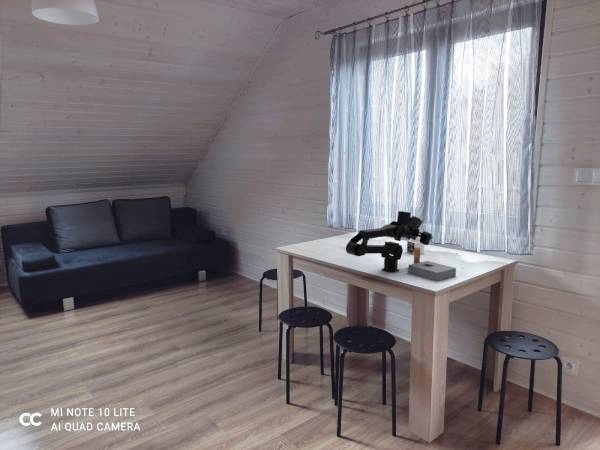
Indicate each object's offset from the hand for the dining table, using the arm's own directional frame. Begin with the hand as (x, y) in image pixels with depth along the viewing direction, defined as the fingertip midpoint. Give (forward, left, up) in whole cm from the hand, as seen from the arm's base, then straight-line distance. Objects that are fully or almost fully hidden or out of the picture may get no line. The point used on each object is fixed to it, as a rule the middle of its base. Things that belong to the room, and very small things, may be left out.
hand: (425, 234), depth 235 cm
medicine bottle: (+15, +19, -16) cm, 29 cm away
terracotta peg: (-9, -2, -16) cm, 18 cm away
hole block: (-14, -16, -16) cm, 26 cm away
